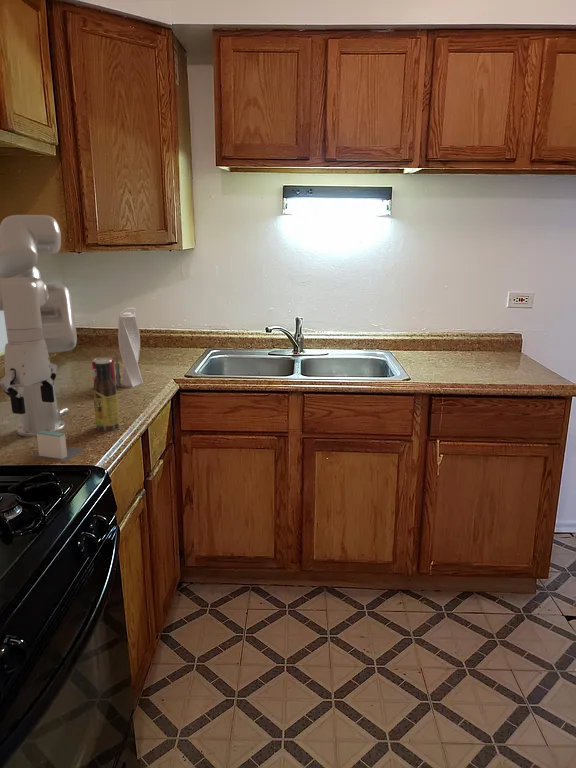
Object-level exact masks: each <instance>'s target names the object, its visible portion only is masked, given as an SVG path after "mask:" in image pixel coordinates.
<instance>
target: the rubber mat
mask: <svg viewBox="0 0 576 768" xmlns="http://www.w3.org/2000/svg"><path fill="white" fill-rule="evenodd" d="M66 449H67V457H65V458H63V459H59V458H52V457H45V456H39V452H37V453H35V454H33V455H31V457H32V458H37V459H38V458H39V459H44V460H51V461H52V460H53V461H57V462H66V461H68V460H70V459H72V458H74V457H75V456H77V455H79V454H81V453H82V452H84V451H85V449H83V448H76V447H69V446H66Z"/></svg>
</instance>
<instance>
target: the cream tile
mask: <svg viewBox="0 0 576 768" xmlns="http://www.w3.org/2000/svg"><path fill="white" fill-rule="evenodd" d="M36 434H37V436H36V439H37V441H36V442H37V449H38V450H37V451H38V453H39V456H45V457H52V458H59V459H63V458H65V457H67V449H66V447H67V441H66V434H65V432H59V431H57V432H51V431H44V430H41V431H39V432H37V433H36Z"/></svg>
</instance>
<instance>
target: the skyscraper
mask: <svg viewBox="0 0 576 768" xmlns="http://www.w3.org/2000/svg"><path fill="white" fill-rule="evenodd" d="M127 310H134V311H133V313H132V312H125V311H127ZM136 311H137V308H136V307H127V308H124V309H122V310H121V311H120V313H119V315H118V329H117V331H118V332H117V337H118V338H117V341H118V349H119V352H120V357H121V360H122V363H123V374H122V377H121V373H120V363H119V361H118V359H119V357H118V355H117V354H118V353H117V351H116V352H115V363H114V369H115V381H116V387H118V388H119V387H120V388H126V389H132V388H135V387H137V386H141V385H143V384H144V381H143V378H142V375H141V374H142V373H141V371H140V368H139V367H140V366H139V364H138V363H139V358H140V351H141V337H140V335H141V333H140V329H139V323H138V321H137V315H136ZM121 379H122V380H121ZM121 381H122V382H121Z"/></svg>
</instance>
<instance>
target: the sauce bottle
mask: <svg viewBox="0 0 576 768" xmlns="http://www.w3.org/2000/svg"><path fill="white" fill-rule="evenodd" d="M110 367H111V365H110V361H107V360H103V361H97V362H95V368H96V374H97V376H96V377H97V380H96V382H95V384H93V388H92V392H93V393H92V395H93V405H94V415H95V425H96V429H97V430H98V431H100V432H112V431H115V430H119V428H120V415H119V405H118V404H119V403H118V392H117V386H116V384H115V382H114V381H113V380H112V379H111V374H110Z"/></svg>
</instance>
